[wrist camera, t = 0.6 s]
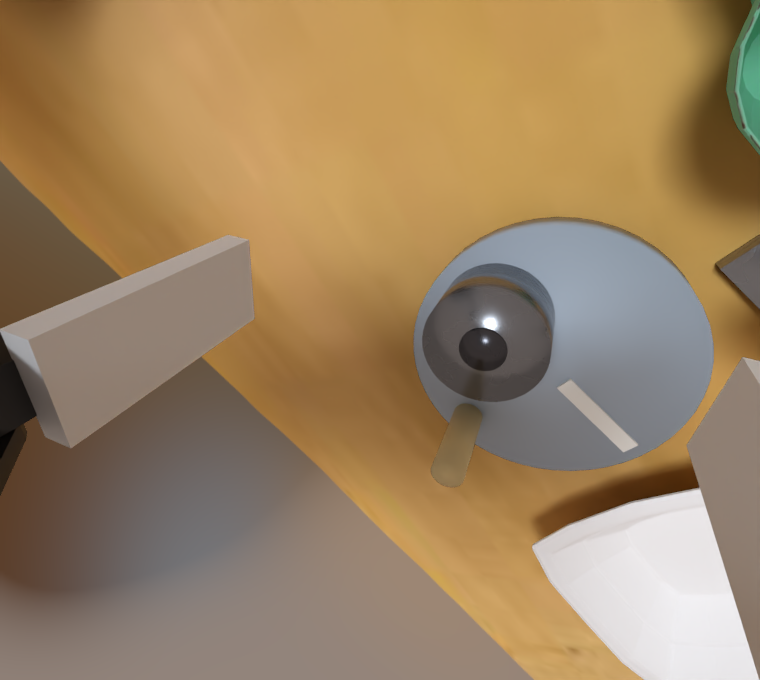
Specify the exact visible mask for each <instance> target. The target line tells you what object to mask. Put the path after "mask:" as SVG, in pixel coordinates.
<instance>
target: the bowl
mask: <svg viewBox="0 0 760 680" xmlns="http://www.w3.org/2000/svg"><path fill="white" fill-rule="evenodd" d="M532 549H533V551H534V553H535V555H536V557H537V559H538V560H539V562H540V564H541V566H542V568H543V570H544V572H545V574H546V576H547V578H548V579H549V581H550V583H551V584H552V585H553V586H554V587H555V588H556V590H557V591H558V592H559V593H560V594H561V595H562V596H563V598H564V599H565V600H566V601H567V602H568V603H569V604H570V606H571V607H572V608H573V609H574V610H575V611H576V612H577V614H578V615H579V616H580V617H581V618H582V619H583V620H584V622H585V623H586V624H587V625H588V626H589V627H590V628H591V629H592V630H593V631H594V633H595V634H596V635H597V636H598V637H599V638H600V639H601V640H602V641H603V642H604V643H605V645H606V646H607V647H608V648H609V649H610V650H611V651H612V652H613V653H614V654H615V655H616V657H617V658H618V659H619V660H620V661H621V662H622V663H623V664H624V665H626V666H627V667H628V668H630V669H631V670H632V671H633V672H635V673H636V674H637V675H639V676H640V677H641V678H643V679H644V680H759V677H758V674H757V671H756V667H755V664H754V661H753V658H752V654H751V651H750V648H749V645H748V642H747V638H746V635H745V632H744V629H743V625H742V622H741V619H740V616H739V613H738V609H737V606H736V603H735V600H734V596H733V593H732V590H731V587H730V584H729V580H728V577H727V574H726V571H725V568H724V564H723V561H722V558H721V555H720V551H719V548H718V545H717V542H716V539H715V535H714V532H713V529H712V526H711V522H710V519H709V516H708V513H707V510H706V506H705V503H704V500H703V497H702V493H701V490H700V487H699V488H695V489H690V490H685V491H680V492H675V493H670V494H665V495H660V496H656V497H651V498H646V499H641V500H636V501H631V502H628V503H626V504H623V505H620V506H617V507H615V508H612V509H609V510H606V511H603V512H601V513H598V514H595V515H592V516H590V517H587V518H584V519H581V520H579V521H576V522H573V523H570V524H568V525H566V526H564V527H562V528H561V529H559V530H557V531H555V532H553V533H552V534H550V535H548V536H546V537H545V538H543V539H541V540H539V541H537V542H536V543H534V544H533V545H532Z"/></svg>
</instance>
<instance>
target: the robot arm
mask: <svg viewBox="0 0 760 680" xmlns="http://www.w3.org/2000/svg"><path fill="white" fill-rule="evenodd" d="M253 319H255V317H254V303H253V289H252V275H251V261H250V247H249V240H247V239H243V238H239V237H235V236H231V235H227V236H224V237H222V238H219V239H217V240H215V241H212V242H210V243H207V244H205V245H202V246H200V247H198V248H195V249H193V250H190V251H188V252H185V253H183V254H181V255H178V256H176V257H173V258H171V259H168V260H166V261H164V262H161V263H159V264H156V265H154V266H152V267H149V268H147V269H144V270H142V271H139V272H137V273H135V274H132V275H130V276H127V277H125V278H122V279H120V280H118V281H115V282H113V283H110V284H108V285H105V286H104V287H101V288H98V289H96V290H93V291H91V292H89V293H86V294H84V295H81V296H79V297H76V298H74V299H71V300H69V301H67V302H64V303H62V304H59V305H57V306H54V307H52V308H50V309H47V310H45V311H42V312H40V313H38V314H35V315H33V316H30V317H28V318H25V319H23V320H21V321H18V322H16V323H13V324H11V325H9V326H6V327H4V328H1V329H0V495H1V493H2V491H3V489H4V486H5V484H6V482H7V480H8V478H9V475H10V473H11V471H12V469H13V467H14V465H15V462H16V460H17V458H18V456H19V454H20V451H21V449H22V447H23V445H24V443H25V441H26V436H27V431H26V428H25V426H24V423H25V422H27V421H29V420H30V419H32V418H34V417H35V416H37V419H38V421H39V423H40V426H41V428H42V430H43V433H44V435H45V437H47V438H49V439H52V440H54V441H56V442H58V443H60V444H62V445H65V446H67V447H69V448H72V447H73V446H75V445H76V444H78V443H79V442H80V441H82V440H83V439H85V438H86V437H88V436H89V435H90V434H92V433H93V432H95V431H96V430H97V429H99V428H100V427H102V426H103V425H105V424H106V423H107V422H109V421H110V420H112V419H113V418H114V417H116V416H117V415H119V414H120V413H122V412H123V411H124V410H126V409H127V408H129V407H130V406H131V405H133V404H134V403H136V402H137V401H138V400H140V399H141V398H143V397H144V396H146V395H147V394H148V393H150V392H151V391H153V390H154V389H155V388H157V387H158V386H160V385H161V384H162V383H164V382H165V381H167V380H168V379H170V378H171V377H173V376H174V375H175V374H177V373H178V372H180V371H181V370H182V369H184V368H185V367H187V366H188V365H189V364H191V363H192V362H194V361H195V360H196V359H198V358H199V357H201V356H202V355H204V354H205V353H207V352H208V351H209V350H211V349H212V348H214V347H215V346H216V345H218V344H219V343H221V342H222V341H224V340H225V339H226V338H228V337H229V336H231V335H232V334H233V333H235V332H236V331H238V330H239V329H241V328H242V327H243V326H245V325H246V324H248V323H249V322H250V321H252V320H253ZM687 448H688V452H689V455H690V458H691V461H692V464H693V468H694V471H695V474H696V477H697V481H698V484H699V487H700V490H701V493H702V497H703V500H704V503H705V506H706V510H707V513H708V516H709V519H710V522H711V526H712V529H713V532H714V535H715V539H716V542H717V545H718V548H719V551H720V555H721V558H722V561H723V564H724V568H725V571H726V574H727V577H728V580H729V584H730V587H731V590H732V593H733V596H734V600H735V603H736V606H737V609H738V613H739V616H740V619H741V622H742V625H743V629H744V632H745V635H746V638H747V642H748V645H749V648H750V651H751V654H752V658H753V661H754V664H755V667H756V671H757V674H758V677H759V680H760V361H757V360H753V359H749V358H744V357H742V359H741V360H740V362H739V363H738V365H737V367H736V368H735V370H734V371H733V373H732V375H731V376H730V378H729V379H728V381H727V382H726V384H725V386H724V387H723V389H722V390H721V392H720V393H719V395H718V397H717V398H716V400H715V401H714V403H713V404H712V406H711V408H710V409H709V411H708V412H707V414H706V416H705V417H704V419H703V420H702V422H701V423H700V425H699V427H698V428H697V430H696V431H695V433H694V434H693V436H692V438H691V439H690V441H689V442H688V444H687Z"/></svg>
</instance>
